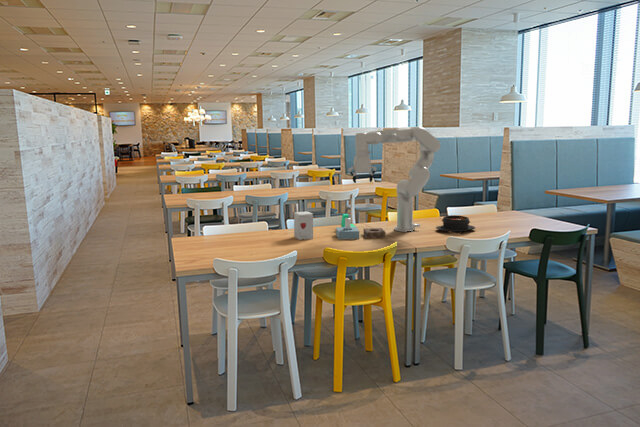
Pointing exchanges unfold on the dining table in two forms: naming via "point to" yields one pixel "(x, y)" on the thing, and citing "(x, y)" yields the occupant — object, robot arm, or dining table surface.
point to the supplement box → (303, 225)
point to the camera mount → (344, 220)
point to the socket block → (347, 233)
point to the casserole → (455, 224)
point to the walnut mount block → (374, 233)
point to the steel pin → (347, 223)
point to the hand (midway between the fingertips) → (362, 182)
